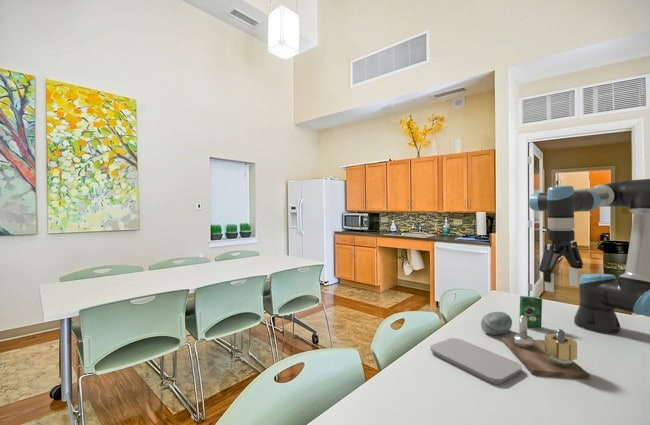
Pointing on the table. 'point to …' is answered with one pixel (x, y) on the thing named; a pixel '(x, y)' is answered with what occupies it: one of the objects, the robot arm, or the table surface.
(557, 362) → the metal peg stand
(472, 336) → the table surface
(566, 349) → the tan boxy piece
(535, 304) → the coffee box
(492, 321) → the grey marbled egg
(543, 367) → the walnut plate
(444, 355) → the tablet
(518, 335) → the stand rod
